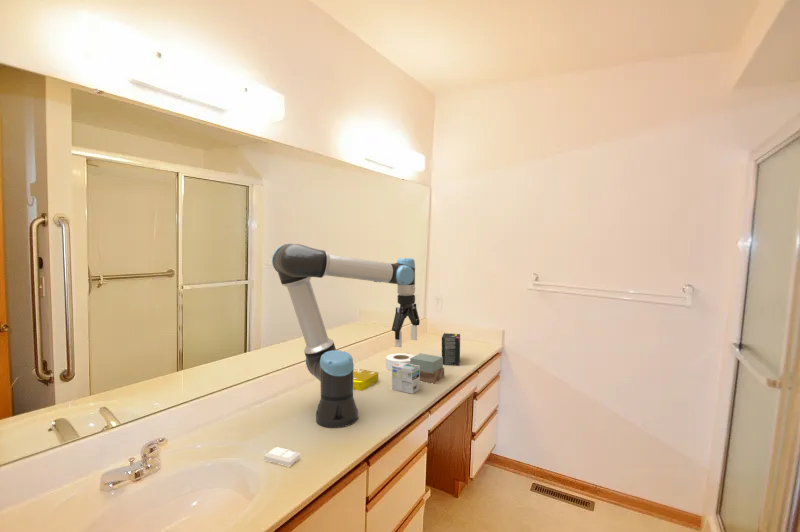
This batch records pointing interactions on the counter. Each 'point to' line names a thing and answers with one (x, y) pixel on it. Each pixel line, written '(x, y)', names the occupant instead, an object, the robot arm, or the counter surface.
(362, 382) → the element tile
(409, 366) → the light bulb box
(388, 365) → the roll of tape
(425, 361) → the grey-green top block
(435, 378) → the walnut base block
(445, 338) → the tampon box
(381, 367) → the counter surface
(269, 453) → the soap bar
